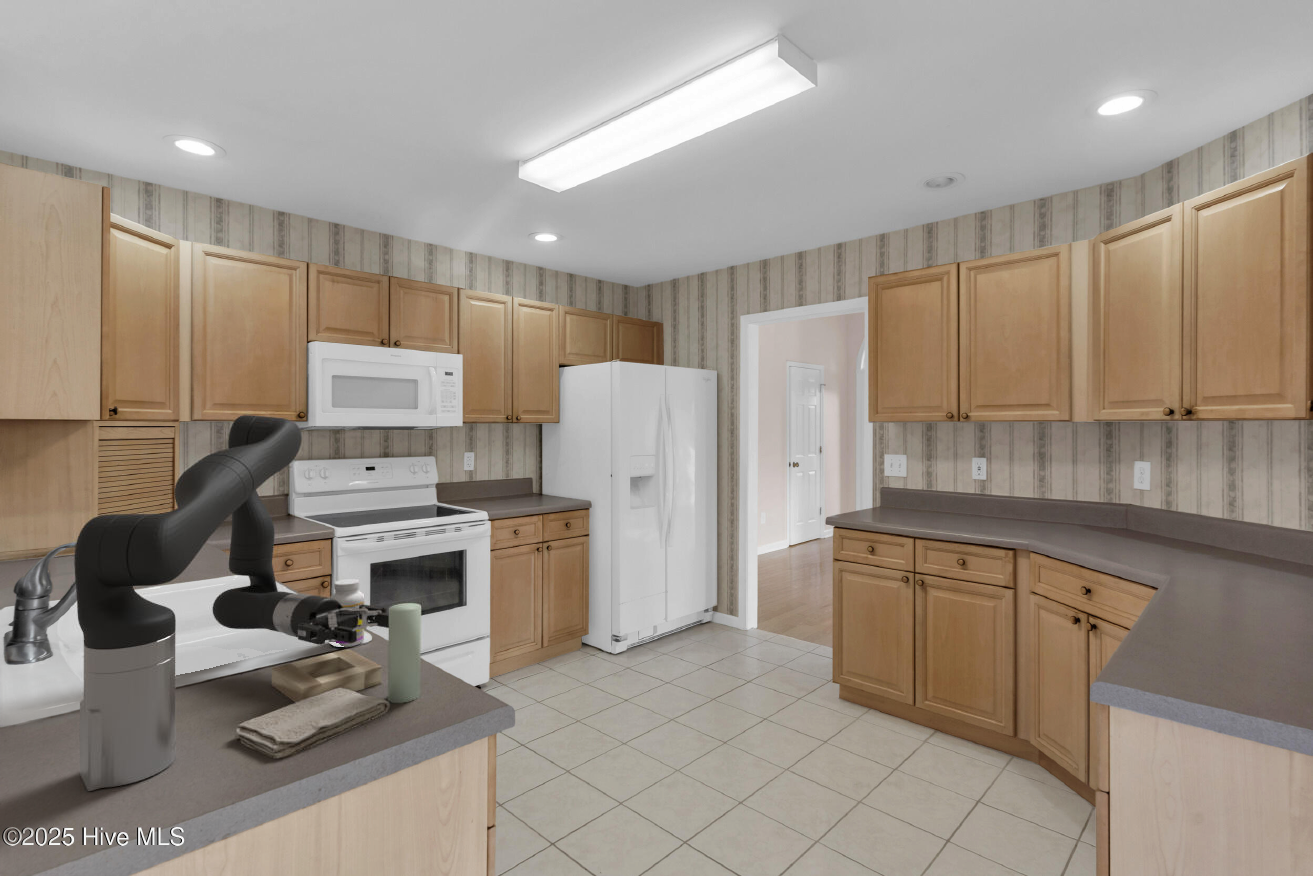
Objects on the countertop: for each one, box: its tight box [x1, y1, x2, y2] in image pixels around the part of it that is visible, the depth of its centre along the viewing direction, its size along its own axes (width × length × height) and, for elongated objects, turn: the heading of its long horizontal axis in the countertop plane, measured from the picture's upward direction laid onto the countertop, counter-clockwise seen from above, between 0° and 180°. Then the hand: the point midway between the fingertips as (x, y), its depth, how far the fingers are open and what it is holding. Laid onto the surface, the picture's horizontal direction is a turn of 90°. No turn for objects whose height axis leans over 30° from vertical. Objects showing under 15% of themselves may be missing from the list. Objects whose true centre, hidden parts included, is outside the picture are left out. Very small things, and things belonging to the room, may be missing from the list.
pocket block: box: [271, 648, 383, 703], centre depth 111 cm, size 13×13×3 cm
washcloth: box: [235, 688, 390, 759], centre depth 96 cm, size 12×18×3 cm, turn 152°
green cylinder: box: [387, 602, 422, 704], centre depth 107 cm, size 5×5×15 cm
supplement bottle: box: [329, 578, 366, 648], centre depth 132 cm, size 7×7×13 cm
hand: (375, 629), depth 109 cm, fingers open, 8 cm apart
